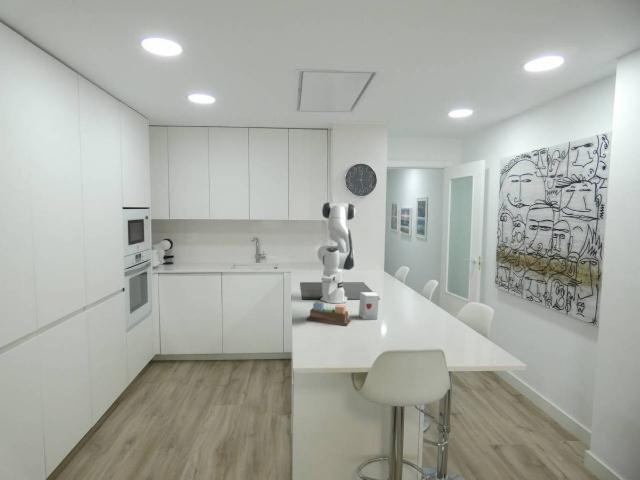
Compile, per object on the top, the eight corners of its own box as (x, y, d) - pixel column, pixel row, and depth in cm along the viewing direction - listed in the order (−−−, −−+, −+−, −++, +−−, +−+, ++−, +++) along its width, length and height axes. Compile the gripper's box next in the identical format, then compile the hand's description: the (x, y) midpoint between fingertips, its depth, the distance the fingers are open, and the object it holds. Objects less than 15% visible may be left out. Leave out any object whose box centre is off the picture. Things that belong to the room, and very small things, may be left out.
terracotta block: (336, 312, 231) (337, 304, 231) (345, 314, 230) (345, 305, 229) (334, 315, 226) (335, 306, 226) (343, 316, 225) (343, 307, 225)
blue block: (315, 310, 235) (315, 301, 235) (323, 311, 234) (323, 302, 233) (312, 312, 230) (313, 303, 230) (321, 313, 229) (321, 304, 228)
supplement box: (363, 320, 236) (365, 295, 234) (358, 315, 244) (359, 291, 243) (377, 319, 238) (379, 295, 237) (372, 315, 247) (373, 291, 246)
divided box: (311, 316, 239) (312, 306, 238) (350, 321, 232) (351, 311, 231) (306, 320, 229) (306, 310, 229) (346, 326, 222) (347, 315, 222)
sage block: (325, 315, 233) (326, 307, 233) (334, 316, 232) (334, 308, 231) (323, 317, 229) (323, 309, 228) (331, 318, 227) (332, 310, 227)
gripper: (330, 272, 239) (329, 295, 240) (320, 278, 219) (319, 302, 221) (340, 273, 237) (339, 296, 238) (331, 279, 218) (330, 304, 219)
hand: (329, 299), depth 229 cm, fingers closed
